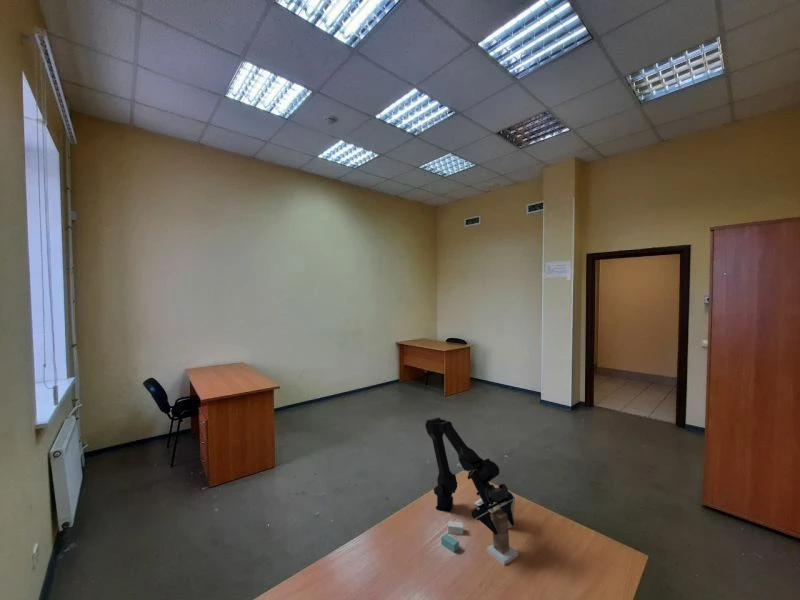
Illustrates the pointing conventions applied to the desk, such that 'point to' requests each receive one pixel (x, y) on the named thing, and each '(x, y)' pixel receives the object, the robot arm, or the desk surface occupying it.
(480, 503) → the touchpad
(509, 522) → the coffee cup
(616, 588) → the desk surface
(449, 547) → the teal brick
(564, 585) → the desk surface
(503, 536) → the walnut block
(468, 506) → the desk surface
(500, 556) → the grey slab
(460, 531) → the light grey brick
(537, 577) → the desk surface
